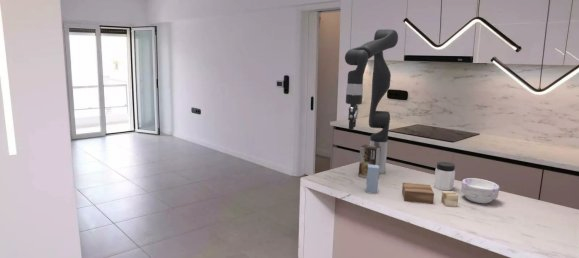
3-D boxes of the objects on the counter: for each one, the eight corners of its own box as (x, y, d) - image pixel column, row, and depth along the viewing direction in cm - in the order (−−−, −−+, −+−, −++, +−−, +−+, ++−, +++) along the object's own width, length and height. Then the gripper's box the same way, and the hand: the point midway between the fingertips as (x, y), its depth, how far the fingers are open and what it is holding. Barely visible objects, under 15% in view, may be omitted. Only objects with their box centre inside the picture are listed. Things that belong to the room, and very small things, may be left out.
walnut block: (401, 192, 187) (402, 182, 186) (428, 195, 184) (429, 185, 184) (404, 201, 175) (405, 190, 174) (433, 204, 173) (434, 193, 172)
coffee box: (379, 176, 209) (381, 146, 207) (374, 179, 204) (377, 148, 201) (362, 173, 214) (364, 144, 211) (357, 176, 209) (360, 146, 206)
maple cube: (441, 202, 175) (442, 191, 175) (452, 202, 176) (453, 191, 175) (445, 206, 171) (447, 195, 170) (457, 206, 171) (458, 195, 170)
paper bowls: (501, 207, 171) (504, 190, 170) (464, 204, 174) (466, 186, 173) (491, 195, 186) (493, 179, 184) (457, 192, 189) (458, 176, 187)
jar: (447, 191, 189) (450, 167, 187) (431, 187, 195) (433, 163, 193) (455, 188, 195) (458, 164, 193) (439, 183, 201) (442, 160, 199)
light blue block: (366, 188, 190) (368, 164, 187) (377, 189, 189) (379, 165, 186) (366, 192, 185) (367, 167, 183) (377, 193, 184) (379, 168, 182)
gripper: (348, 92, 193) (346, 125, 196) (344, 94, 180) (342, 129, 182) (363, 93, 192) (361, 126, 194) (361, 95, 178) (358, 131, 181)
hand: (352, 128), depth 188 cm, fingers open, 8 cm apart
